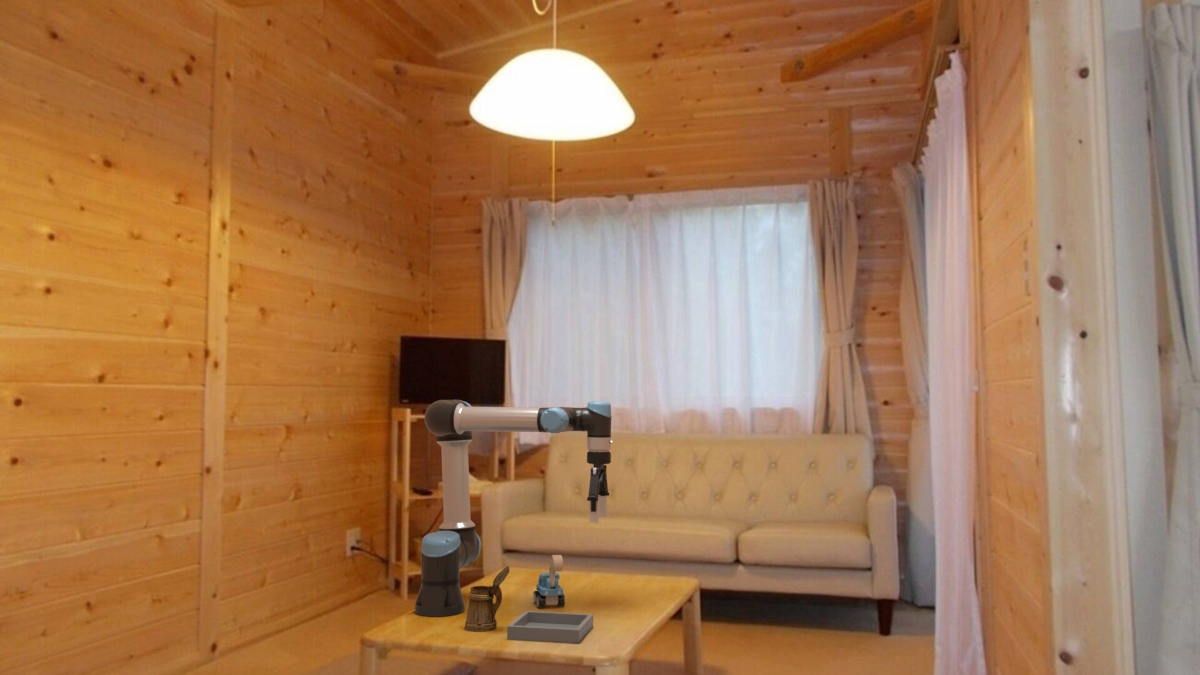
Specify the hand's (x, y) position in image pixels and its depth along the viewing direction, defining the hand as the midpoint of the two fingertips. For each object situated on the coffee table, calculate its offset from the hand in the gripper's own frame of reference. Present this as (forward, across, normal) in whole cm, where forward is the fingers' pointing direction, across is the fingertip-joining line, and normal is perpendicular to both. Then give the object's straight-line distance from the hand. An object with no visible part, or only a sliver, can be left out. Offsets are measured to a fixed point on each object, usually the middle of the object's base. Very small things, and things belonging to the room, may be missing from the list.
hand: (598, 519), depth 278 cm
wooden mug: (+28, -28, +26) cm, 48 cm away
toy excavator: (+28, +1, +15) cm, 32 cm away
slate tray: (+28, -29, +7) cm, 41 cm away
